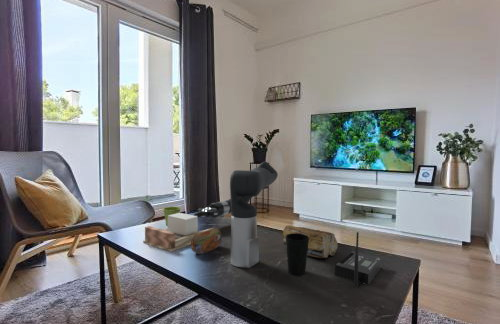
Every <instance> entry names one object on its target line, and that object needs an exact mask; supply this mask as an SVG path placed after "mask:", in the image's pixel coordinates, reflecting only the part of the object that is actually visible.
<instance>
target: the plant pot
mask: <svg viewBox="0 0 500 324" xmlns="http://www.w3.org/2000/svg"><path fill="white" fill-rule="evenodd" d="M162 211H163V214H164V221H165V225H166V226H168V215H172V214H176V213H181V207H180V206H167V207H163V208H162Z"/></svg>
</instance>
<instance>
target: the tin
mask: <svg viewBox="0 0 500 324" xmlns="http://www.w3.org/2000/svg"><path fill="white" fill-rule="evenodd" d="M222 237H223V234H222V232H221V230H220V229H219V228H217V227H210V228H207V229H203V231H202V230H200V232H197V233H196V234H194V236H193V237H192V239H191V245H190V248H191V251H192V252H194V253H196V254H198V255H203V254H205V253H208V252H211V251H213V250H215V249H217V248H218V247H219V246H220V244H221V242H222Z"/></svg>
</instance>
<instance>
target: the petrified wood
mask: <svg viewBox="0 0 500 324" xmlns="http://www.w3.org/2000/svg"><path fill="white" fill-rule="evenodd" d="M292 233H298V234H304V235H307V236H308V237H309V243H308V252H307V257H308V256H309V257H314V258H319V259H324V258H325V259H326V258H328V257H329V256H333V257H334V256H335V253H336V252H337V249H338V247H339V246H338V240H337V238H336V235H335V234H334V232H329V231H324V230H319V229H313V228H309V227H305V226H295V225H291V224H290V225H285V227H284V228H283V231H282V237H283V240H282V241H283V242H282V244H283V246H285V247H286V235H288V234H292Z"/></svg>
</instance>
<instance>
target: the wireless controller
mask: <svg viewBox="0 0 500 324" xmlns="http://www.w3.org/2000/svg"><path fill="white" fill-rule="evenodd" d="M359 233H360V232H358V231H356V242H355V243H356V244H355V251H352V250H351V252H350V253H349V254H348V255H346V256H345V257H344V258H342V260H340V261H339V262H337V263H335V266H334V270H335V271H334V276H336V275H337V277H339V276H341V277H340V278H343V277H344V278H343V279H346V278H348V279H347V280H349V279H351V280H350V281H353V280H354V281H353V287H354V288H355V287H357V288H358V287H359V285H360V284H362V283H365V284H364V285H366V284H369V285H370V283H371V282H372V281H373V280H372V278H373V277H374V276H375V275H377V274H378V273H379V272H380V271H379V269H380V268H381V267H382V265H383V258H381V257H377V256H373V255H368V254H365V253H361V252H359ZM382 268H383V267H382ZM382 268H381V269H382ZM381 269H380V270H381ZM378 271H379V272H378ZM377 272H378V273H377ZM376 273H377V274H376ZM375 277H376V276H375ZM375 277H374V278H375ZM374 278H373V279H374ZM371 280H372V281H371ZM370 281H371V282H370ZM360 282H362V283H360ZM369 282H370V283H369Z"/></svg>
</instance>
